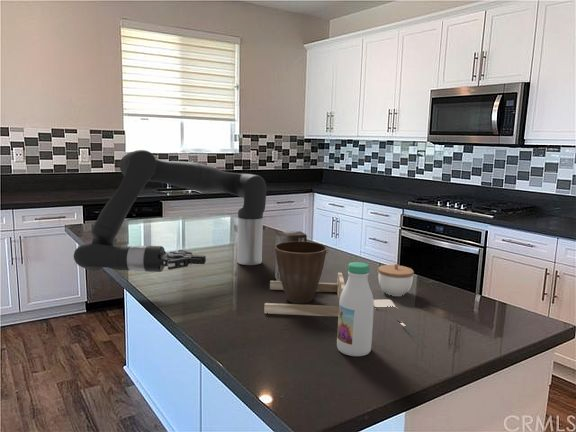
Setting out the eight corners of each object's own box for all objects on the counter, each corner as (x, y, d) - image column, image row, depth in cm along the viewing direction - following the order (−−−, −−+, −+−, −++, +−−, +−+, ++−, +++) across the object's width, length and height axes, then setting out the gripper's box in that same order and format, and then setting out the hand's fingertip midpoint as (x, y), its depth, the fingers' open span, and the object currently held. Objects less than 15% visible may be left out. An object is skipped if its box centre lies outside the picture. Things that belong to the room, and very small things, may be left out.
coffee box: (300, 276, 158) (302, 230, 156) (306, 282, 152) (307, 234, 150) (274, 277, 156) (275, 231, 153) (279, 283, 150) (280, 235, 147)
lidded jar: (370, 289, 147) (372, 260, 146) (399, 286, 151) (401, 258, 150) (389, 300, 137) (391, 270, 136) (419, 297, 141) (421, 267, 140)
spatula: (390, 304, 136) (390, 299, 136) (436, 348, 107) (436, 342, 107) (370, 304, 135) (370, 299, 135) (411, 349, 106) (412, 343, 106)
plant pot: (274, 308, 128) (276, 252, 125) (272, 290, 143) (274, 240, 140) (327, 309, 129) (330, 253, 126) (320, 291, 144) (323, 241, 141)
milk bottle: (367, 342, 108) (372, 259, 105) (374, 357, 101) (380, 269, 97) (334, 341, 108) (338, 259, 105) (339, 357, 100) (344, 268, 97)
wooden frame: (270, 288, 145) (270, 269, 144) (340, 291, 144) (341, 272, 143) (264, 313, 124) (264, 292, 123) (346, 317, 123) (348, 295, 122)
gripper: (137, 252, 127) (200, 253, 127) (153, 240, 140) (209, 241, 140) (139, 278, 129) (200, 279, 128) (154, 264, 142) (210, 265, 141)
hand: (205, 259), depth 134 cm, fingers closed
